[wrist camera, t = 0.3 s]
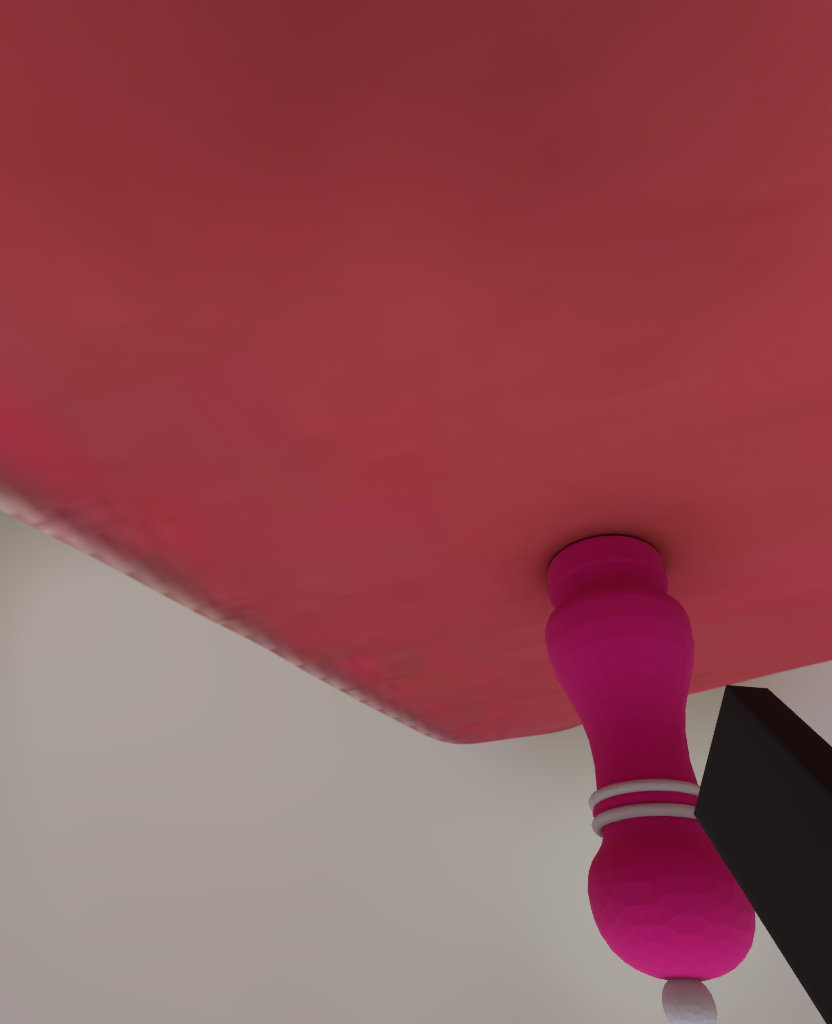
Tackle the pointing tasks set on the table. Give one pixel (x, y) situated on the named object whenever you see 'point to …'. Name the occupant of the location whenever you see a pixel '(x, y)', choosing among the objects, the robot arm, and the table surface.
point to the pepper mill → (644, 772)
